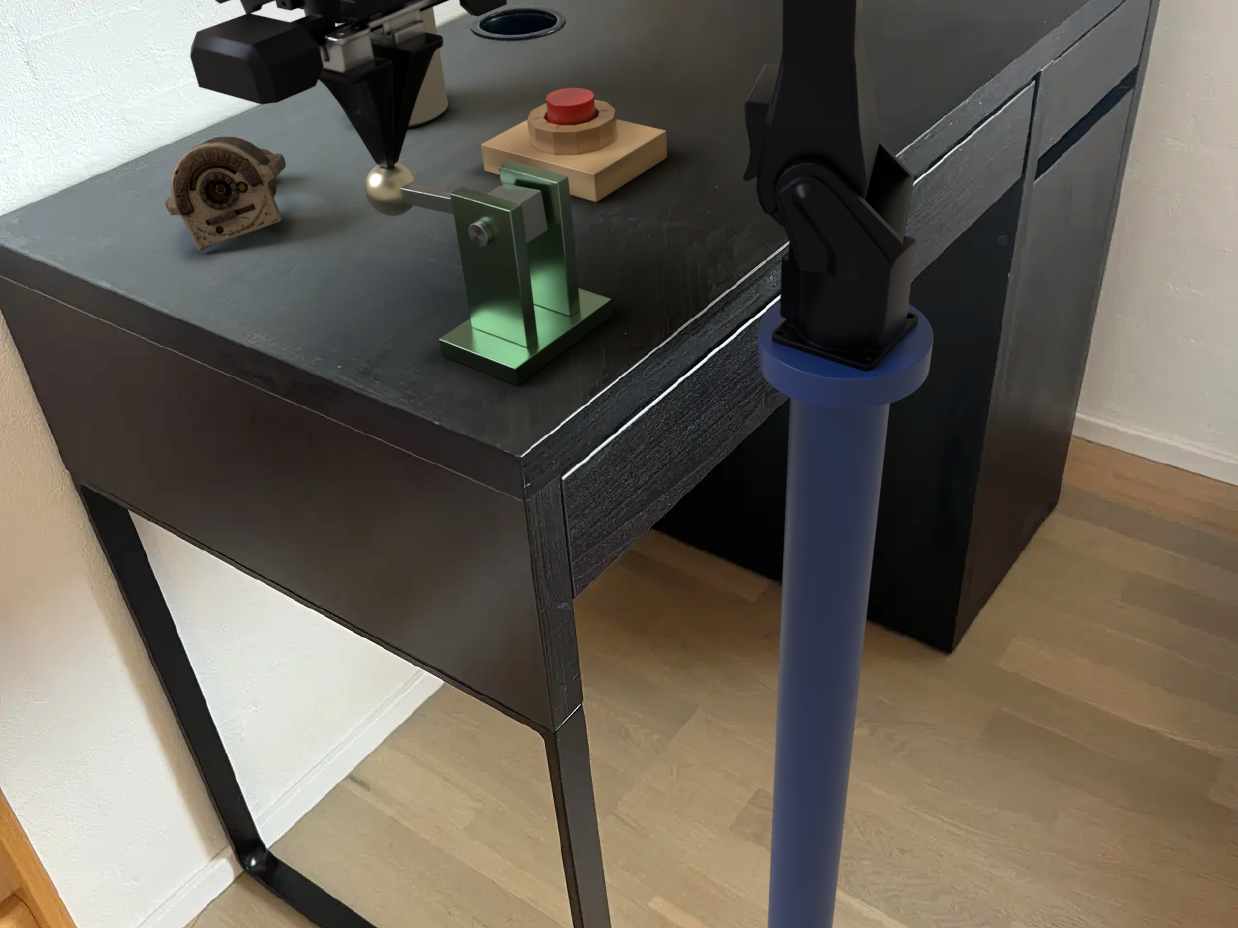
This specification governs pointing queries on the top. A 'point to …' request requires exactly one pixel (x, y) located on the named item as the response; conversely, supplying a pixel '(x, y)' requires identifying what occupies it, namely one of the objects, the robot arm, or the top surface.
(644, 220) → the top surface
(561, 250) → the bracket
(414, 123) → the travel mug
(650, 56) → the top surface
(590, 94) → the button
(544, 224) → the lever
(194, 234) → the mechanical counter
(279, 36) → the robot arm
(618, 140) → the button block
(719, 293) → the top surface
